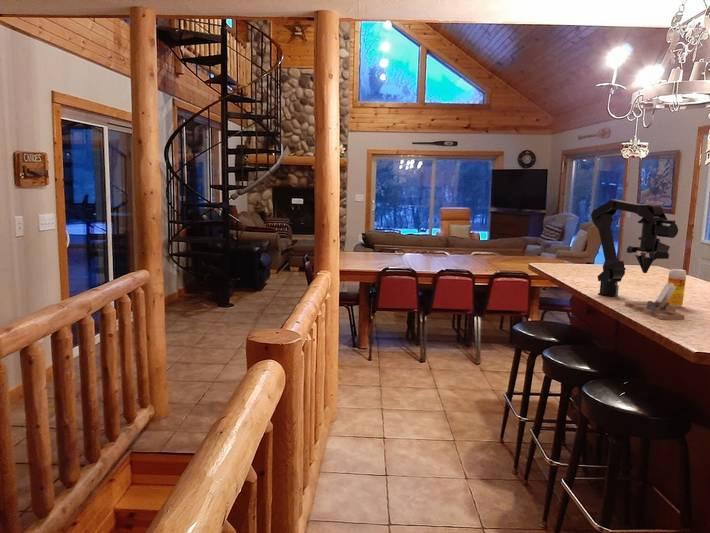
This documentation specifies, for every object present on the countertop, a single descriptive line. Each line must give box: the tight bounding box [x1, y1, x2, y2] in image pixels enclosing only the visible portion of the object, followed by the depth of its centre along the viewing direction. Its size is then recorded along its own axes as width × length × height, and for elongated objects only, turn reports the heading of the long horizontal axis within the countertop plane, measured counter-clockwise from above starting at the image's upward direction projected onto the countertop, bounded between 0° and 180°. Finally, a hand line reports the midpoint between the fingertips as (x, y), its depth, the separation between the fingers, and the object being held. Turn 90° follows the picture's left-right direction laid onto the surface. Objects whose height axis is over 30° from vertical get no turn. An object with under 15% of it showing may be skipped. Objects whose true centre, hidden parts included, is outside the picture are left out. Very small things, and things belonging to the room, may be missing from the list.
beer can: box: [667, 268, 687, 308], centre depth 216 cm, size 6×6×15 cm
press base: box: [624, 300, 685, 320], centre depth 205 cm, size 22×9×5 cm, turn 7°
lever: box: [654, 282, 676, 308], centre depth 200 cm, size 2×3×12 cm
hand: (644, 272), depth 218 cm, fingers closed
